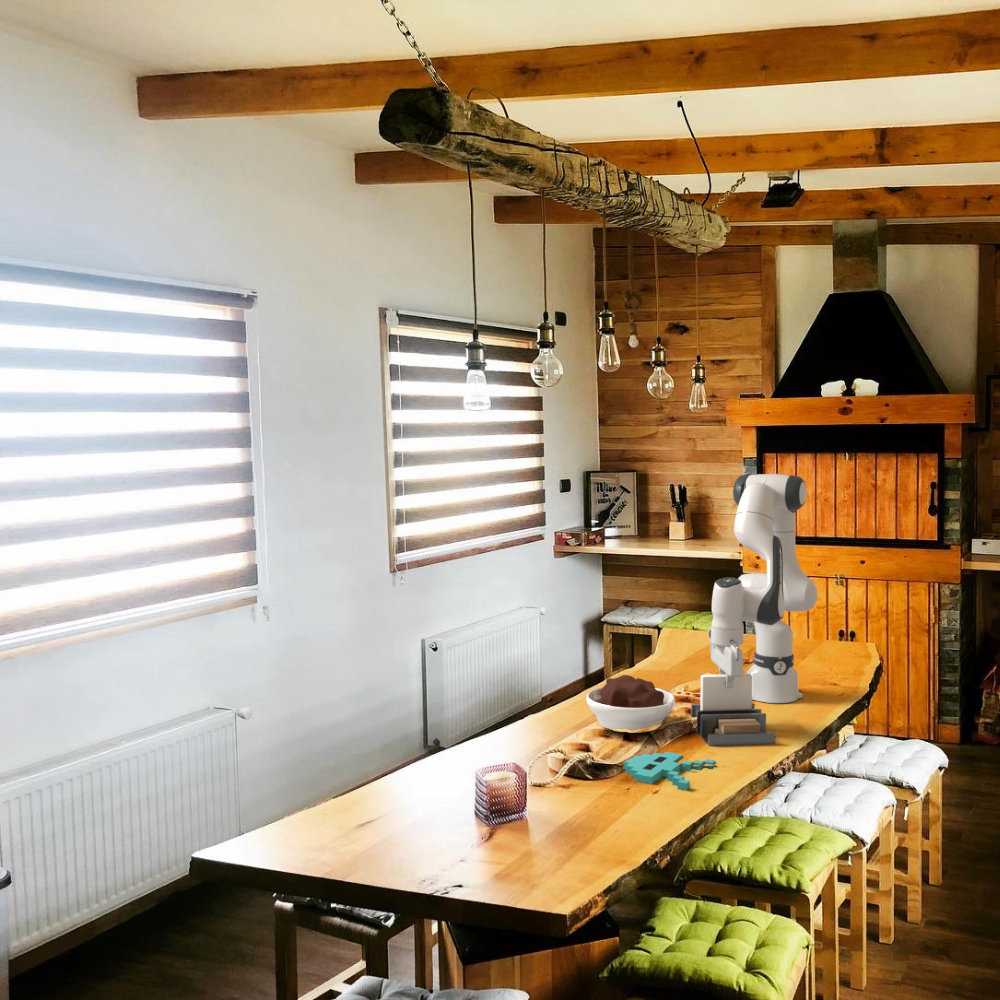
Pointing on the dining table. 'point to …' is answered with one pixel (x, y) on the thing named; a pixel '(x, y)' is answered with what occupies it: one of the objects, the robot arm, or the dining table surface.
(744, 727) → the offcut upper
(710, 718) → the rack
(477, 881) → the dining table surface
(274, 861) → the dining table surface
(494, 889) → the dining table surface
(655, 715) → the bowl of chocolate
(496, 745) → the dining table surface
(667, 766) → the alien figure
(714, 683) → the tall sheet
